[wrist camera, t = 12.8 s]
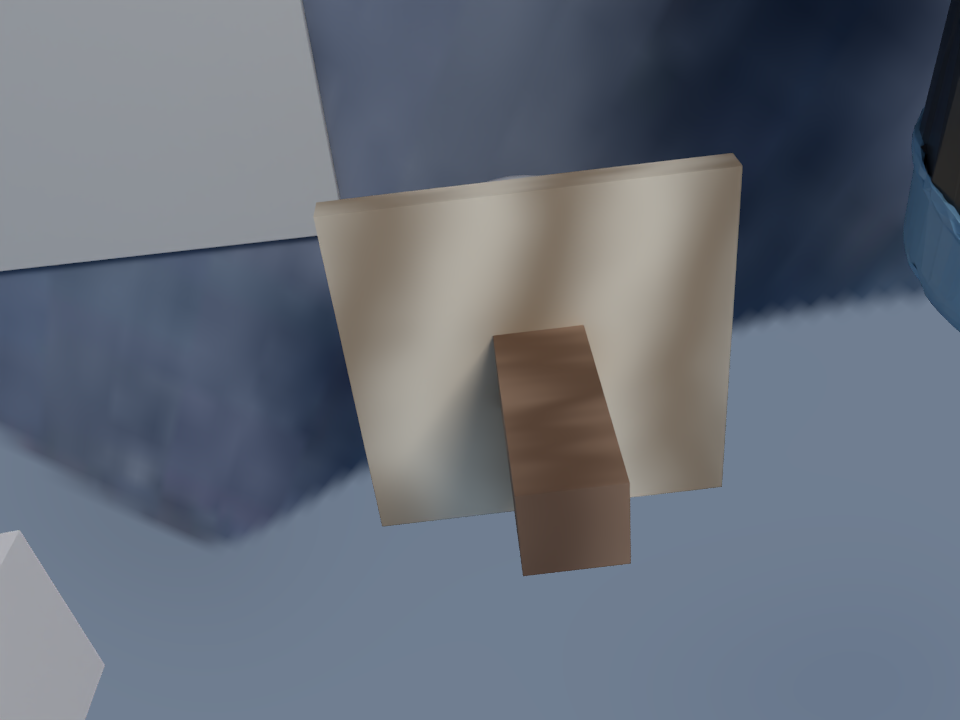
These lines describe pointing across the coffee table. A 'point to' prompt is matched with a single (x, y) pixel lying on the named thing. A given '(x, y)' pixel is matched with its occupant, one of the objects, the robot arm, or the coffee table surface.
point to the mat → (156, 128)
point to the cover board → (527, 282)
